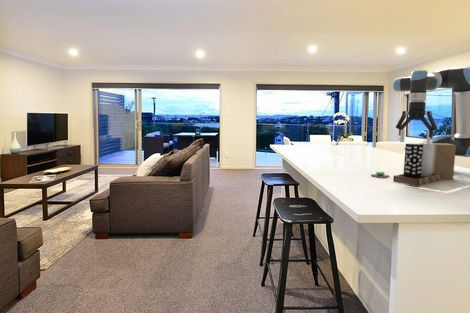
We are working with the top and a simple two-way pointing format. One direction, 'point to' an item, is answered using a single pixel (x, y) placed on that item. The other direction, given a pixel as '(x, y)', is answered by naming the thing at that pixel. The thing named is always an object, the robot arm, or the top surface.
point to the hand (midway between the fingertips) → (414, 143)
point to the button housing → (379, 176)
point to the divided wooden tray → (417, 182)
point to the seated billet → (427, 159)
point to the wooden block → (444, 160)
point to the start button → (380, 173)
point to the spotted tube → (413, 161)
